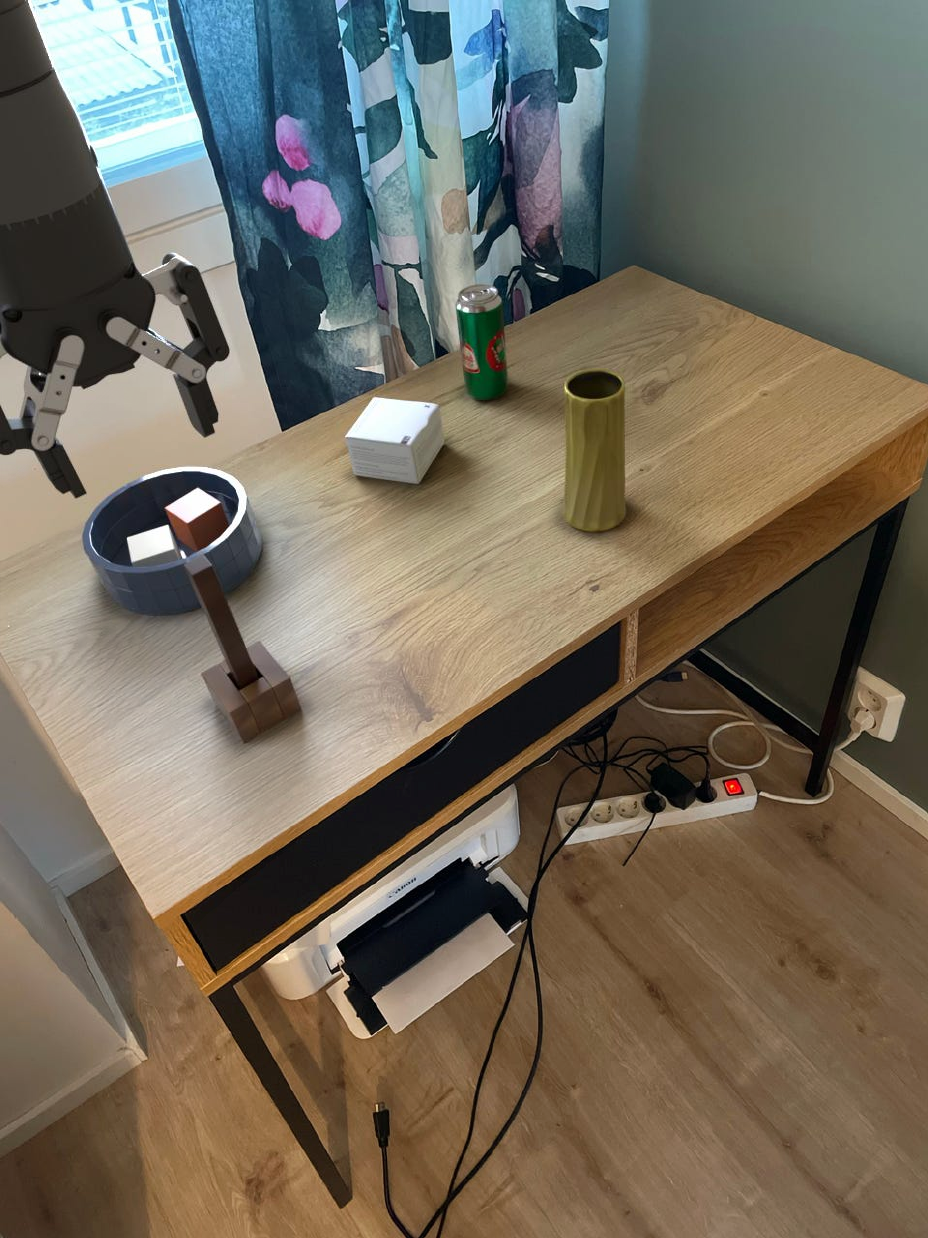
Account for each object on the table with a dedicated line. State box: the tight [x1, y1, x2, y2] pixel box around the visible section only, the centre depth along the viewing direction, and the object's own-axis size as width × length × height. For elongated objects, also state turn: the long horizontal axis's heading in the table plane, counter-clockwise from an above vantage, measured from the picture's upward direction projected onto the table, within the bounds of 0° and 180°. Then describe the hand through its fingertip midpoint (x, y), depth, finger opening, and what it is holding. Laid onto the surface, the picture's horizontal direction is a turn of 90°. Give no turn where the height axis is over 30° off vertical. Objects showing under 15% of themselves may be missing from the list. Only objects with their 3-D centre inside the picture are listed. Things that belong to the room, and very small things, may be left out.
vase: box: [562, 368, 627, 533], centre depth 82 cm, size 6×6×14 cm
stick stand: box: [200, 640, 302, 744], centre depth 73 cm, size 5×5×4 cm
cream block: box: [127, 525, 183, 567], centre depth 85 cm, size 4×4×4 cm
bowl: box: [81, 466, 263, 616], centre depth 87 cm, size 16×16×6 cm
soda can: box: [455, 283, 509, 401], centre depth 100 cm, size 5×5×12 cm
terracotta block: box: [165, 488, 229, 552], centre depth 89 cm, size 4×4×4 cm
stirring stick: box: [184, 555, 259, 691], centre depth 69 cm, size 2×2×16 cm
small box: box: [344, 396, 445, 485], centre depth 95 cm, size 8×8×5 cm
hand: (141, 460), depth 55 cm, fingers open, 8 cm apart
